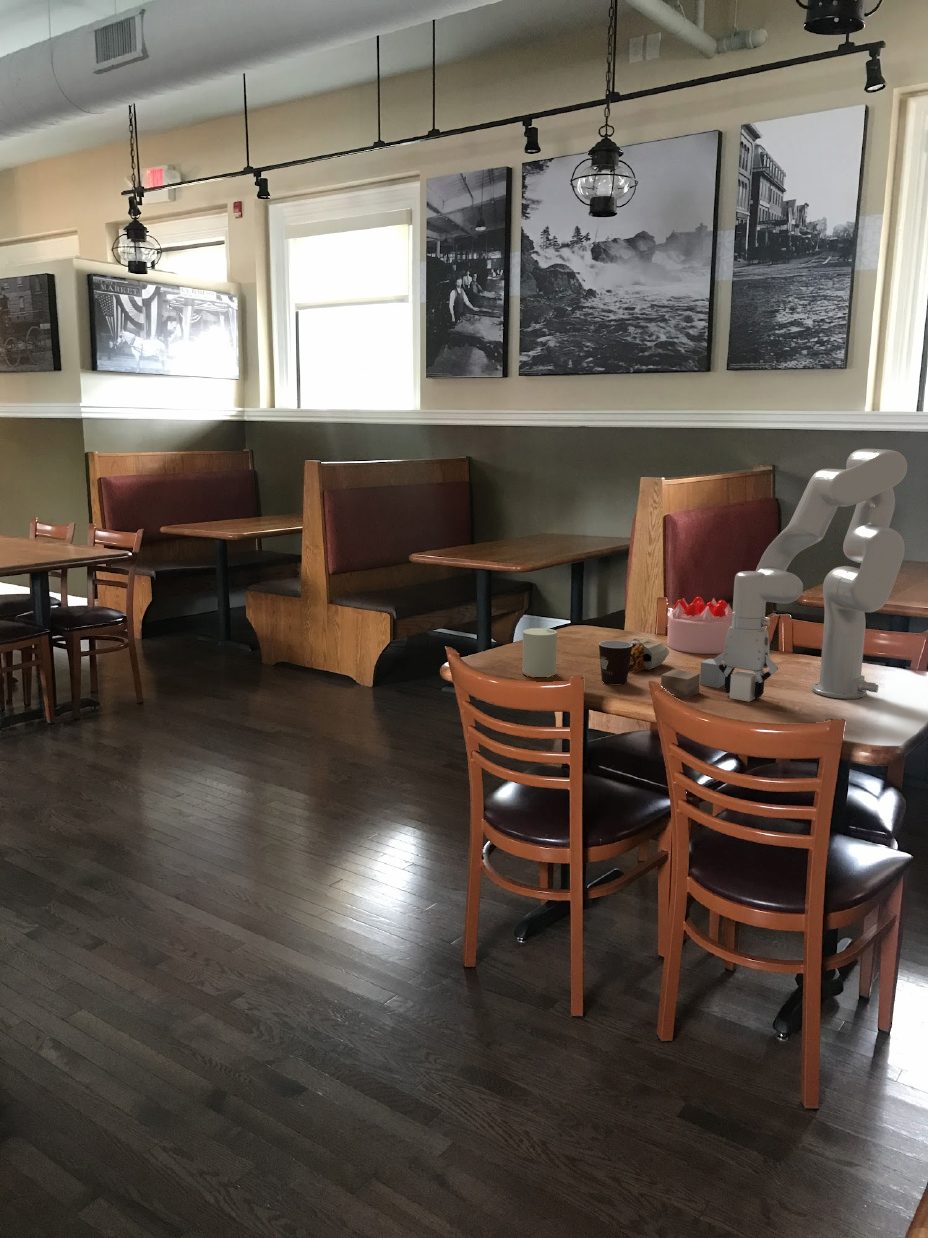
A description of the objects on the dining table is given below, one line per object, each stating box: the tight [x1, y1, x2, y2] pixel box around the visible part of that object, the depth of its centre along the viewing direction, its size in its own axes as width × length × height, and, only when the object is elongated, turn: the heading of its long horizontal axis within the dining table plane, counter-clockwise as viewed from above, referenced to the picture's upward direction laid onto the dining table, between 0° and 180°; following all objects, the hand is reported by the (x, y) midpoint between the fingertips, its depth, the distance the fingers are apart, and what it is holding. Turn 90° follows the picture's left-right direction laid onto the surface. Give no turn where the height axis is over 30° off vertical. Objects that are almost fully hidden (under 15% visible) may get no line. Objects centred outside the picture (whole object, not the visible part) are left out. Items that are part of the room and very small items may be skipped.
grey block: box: [699, 658, 725, 689], centre depth 249 cm, size 5×5×6 cm
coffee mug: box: [598, 640, 636, 685], centre depth 249 cm, size 12×9×10 cm
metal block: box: [660, 668, 700, 699], centre depth 241 cm, size 7×7×5 cm
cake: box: [666, 596, 733, 655], centre depth 290 cm, size 20×20×14 cm
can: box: [521, 627, 558, 676], centre depth 258 cm, size 9×9×12 cm
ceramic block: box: [729, 669, 757, 702], centre depth 237 cm, size 5×5×6 cm
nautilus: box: [627, 637, 670, 675], centre depth 265 cm, size 8×22×15 cm
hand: (743, 693), depth 237 cm, fingers open, 6 cm apart
